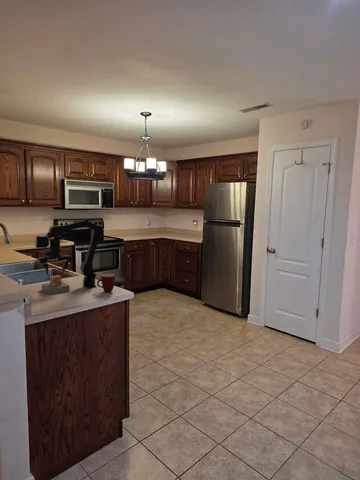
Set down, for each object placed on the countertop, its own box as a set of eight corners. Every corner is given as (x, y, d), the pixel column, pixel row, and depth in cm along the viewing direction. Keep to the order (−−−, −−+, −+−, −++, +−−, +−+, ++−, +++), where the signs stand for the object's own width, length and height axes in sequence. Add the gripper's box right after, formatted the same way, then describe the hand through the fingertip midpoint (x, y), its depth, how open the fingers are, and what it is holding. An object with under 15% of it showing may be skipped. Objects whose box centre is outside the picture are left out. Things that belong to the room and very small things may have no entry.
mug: (96, 293, 183) (96, 277, 181) (97, 290, 190) (97, 274, 189) (115, 293, 185) (115, 276, 184) (114, 289, 193) (115, 273, 192)
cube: (58, 283, 190) (58, 275, 189) (61, 285, 186) (61, 276, 186) (49, 284, 187) (49, 276, 186) (52, 286, 183) (52, 277, 182)
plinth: (61, 286, 195) (61, 281, 195) (69, 291, 186) (69, 285, 186) (41, 289, 187) (41, 284, 187) (48, 294, 178) (48, 288, 178)
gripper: (65, 244, 196) (65, 269, 198) (33, 246, 184) (34, 272, 185) (72, 247, 188) (72, 272, 189) (40, 249, 175) (40, 276, 177)
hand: (55, 273), depth 185 cm, fingers open, 9 cm apart
